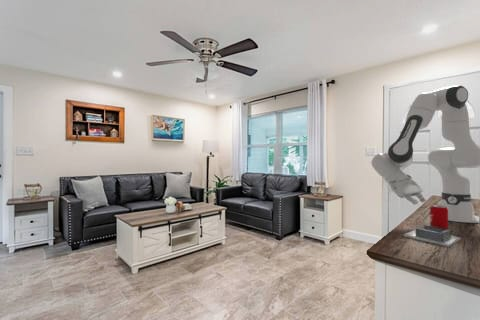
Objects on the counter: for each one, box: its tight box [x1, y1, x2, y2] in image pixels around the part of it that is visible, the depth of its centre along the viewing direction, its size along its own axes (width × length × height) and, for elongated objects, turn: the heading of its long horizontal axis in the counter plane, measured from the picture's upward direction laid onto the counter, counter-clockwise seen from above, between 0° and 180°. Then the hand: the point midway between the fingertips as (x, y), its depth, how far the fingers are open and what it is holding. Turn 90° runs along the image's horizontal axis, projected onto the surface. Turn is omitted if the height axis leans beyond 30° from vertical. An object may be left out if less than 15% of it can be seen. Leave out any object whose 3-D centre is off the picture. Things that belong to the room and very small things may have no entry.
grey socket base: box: [403, 224, 461, 248], centre depth 102 cm, size 14×15×4 cm
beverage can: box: [429, 204, 449, 229], centre depth 110 cm, size 6×6×12 cm
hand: (420, 202), depth 116 cm, fingers open, 8 cm apart
